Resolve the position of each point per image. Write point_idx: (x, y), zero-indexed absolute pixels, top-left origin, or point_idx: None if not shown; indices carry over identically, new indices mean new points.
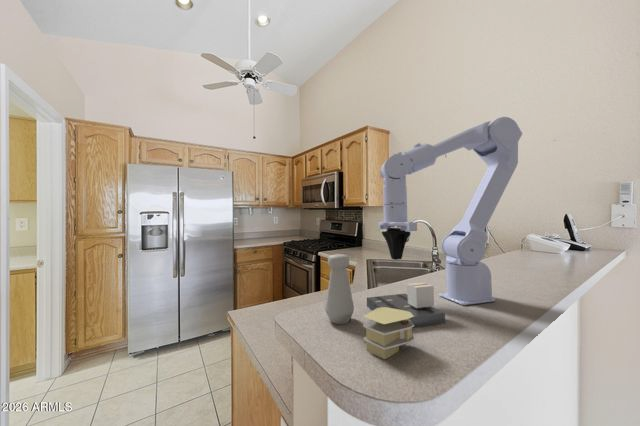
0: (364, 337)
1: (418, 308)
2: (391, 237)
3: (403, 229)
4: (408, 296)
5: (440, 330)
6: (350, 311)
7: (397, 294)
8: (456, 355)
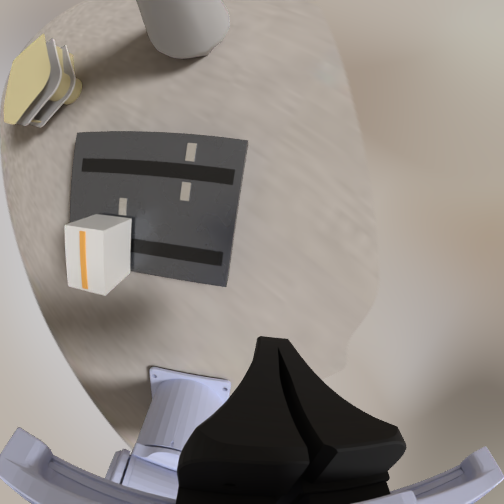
0: (65, 46)
1: None
2: (229, 418)
3: (132, 495)
4: (118, 221)
5: (65, 217)
6: (150, 40)
7: (228, 258)
8: (18, 176)
